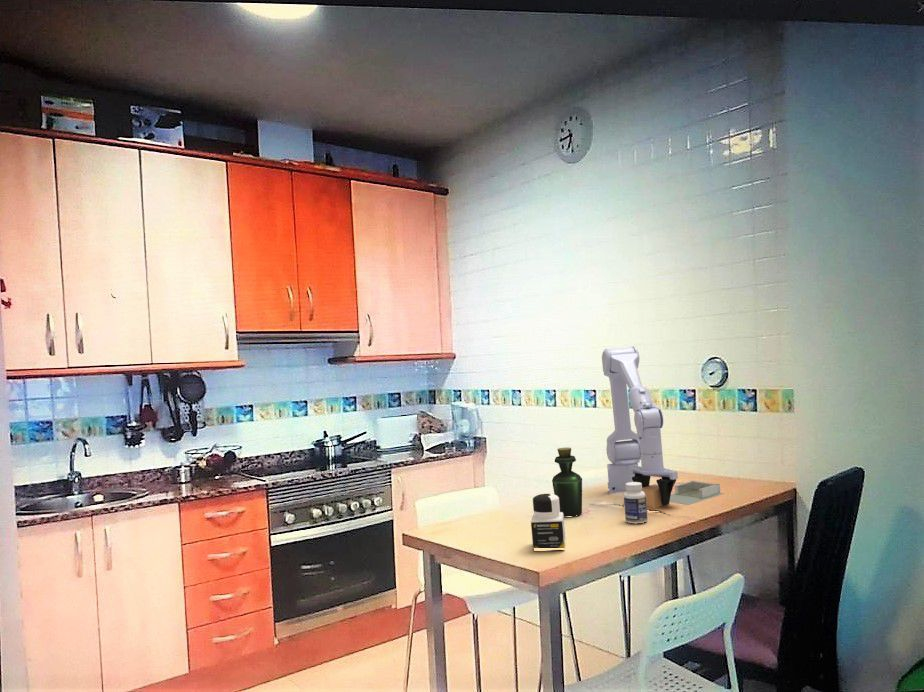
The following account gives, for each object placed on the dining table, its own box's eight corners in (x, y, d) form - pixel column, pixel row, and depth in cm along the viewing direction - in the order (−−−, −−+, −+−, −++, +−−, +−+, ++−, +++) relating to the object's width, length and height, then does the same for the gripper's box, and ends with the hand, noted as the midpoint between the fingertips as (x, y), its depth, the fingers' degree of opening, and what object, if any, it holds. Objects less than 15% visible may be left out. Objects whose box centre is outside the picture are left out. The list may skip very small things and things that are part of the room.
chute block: (656, 513, 177) (654, 490, 177) (641, 510, 181) (639, 488, 181) (670, 508, 181) (668, 486, 181) (656, 506, 185) (654, 484, 185)
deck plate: (688, 509, 178) (688, 504, 178) (655, 503, 187) (655, 499, 187) (724, 497, 187) (724, 493, 187) (691, 492, 196) (691, 488, 196)
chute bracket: (702, 498, 183) (701, 489, 183) (675, 494, 191) (674, 485, 191) (720, 493, 188) (719, 484, 188) (693, 489, 195) (692, 480, 195)
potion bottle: (555, 511, 188) (550, 447, 188) (585, 510, 187) (579, 445, 187) (554, 518, 180) (548, 451, 180) (585, 517, 179) (579, 450, 179)
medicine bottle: (533, 552, 153) (528, 499, 153) (535, 543, 160) (531, 492, 160) (564, 551, 151) (560, 498, 151) (565, 542, 158) (561, 491, 158)
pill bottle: (642, 525, 167) (639, 486, 167) (622, 523, 170) (619, 485, 170) (651, 520, 171) (647, 481, 171) (631, 518, 174) (627, 480, 174)
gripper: (620, 453, 185) (624, 502, 185) (663, 457, 173) (668, 510, 173) (637, 449, 189) (642, 497, 189) (681, 453, 177) (685, 504, 177)
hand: (655, 503), depth 181 cm, fingers open, 6 cm apart
